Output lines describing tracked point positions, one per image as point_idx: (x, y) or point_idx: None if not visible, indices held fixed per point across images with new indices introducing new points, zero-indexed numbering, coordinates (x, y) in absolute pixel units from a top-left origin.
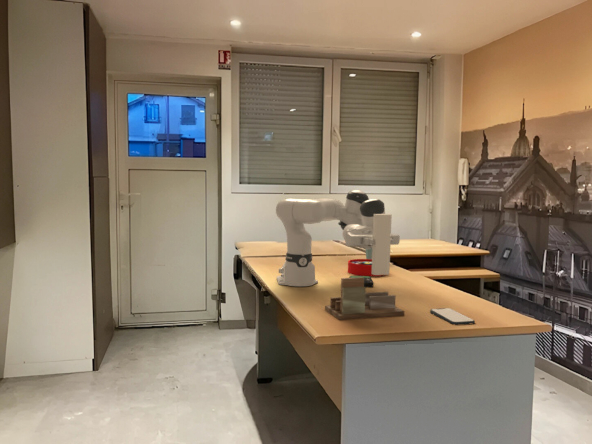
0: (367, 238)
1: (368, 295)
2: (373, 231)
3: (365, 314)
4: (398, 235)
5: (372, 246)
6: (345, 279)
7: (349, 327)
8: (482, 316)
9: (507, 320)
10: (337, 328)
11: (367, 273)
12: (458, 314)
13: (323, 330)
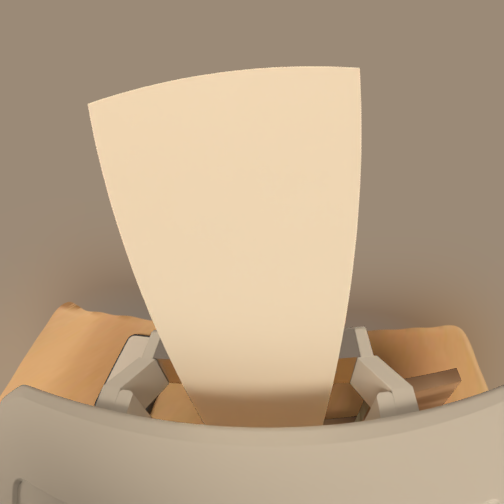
0: (386, 379)
1: None
2: (344, 299)
3: (353, 417)
4: (17, 387)
5: (328, 400)
6: (447, 370)
7: (406, 361)
8: (80, 361)
9: (73, 333)
10: (430, 357)
11: None
12: (120, 369)
13: (454, 347)
